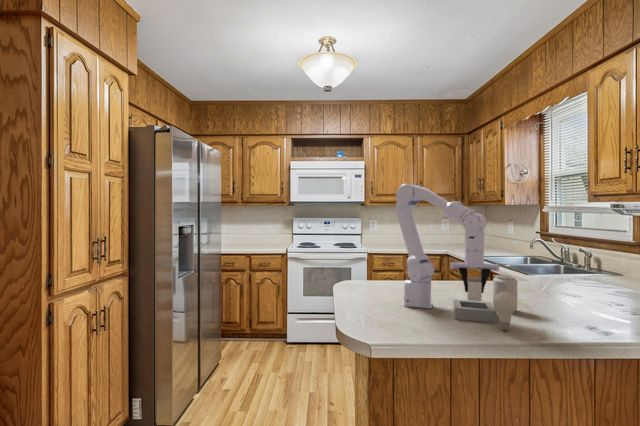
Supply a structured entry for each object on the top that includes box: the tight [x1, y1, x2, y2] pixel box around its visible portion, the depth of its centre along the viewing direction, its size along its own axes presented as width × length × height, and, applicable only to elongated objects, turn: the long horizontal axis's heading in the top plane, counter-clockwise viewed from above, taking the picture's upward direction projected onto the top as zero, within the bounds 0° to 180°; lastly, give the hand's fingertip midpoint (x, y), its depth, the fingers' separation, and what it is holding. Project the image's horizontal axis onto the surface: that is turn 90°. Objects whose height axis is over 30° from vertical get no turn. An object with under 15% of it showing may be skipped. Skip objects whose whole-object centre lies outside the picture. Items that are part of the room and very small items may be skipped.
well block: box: [452, 298, 498, 324], centre depth 119 cm, size 12×12×4 cm
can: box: [492, 274, 518, 313], centre depth 126 cm, size 8×8×12 cm
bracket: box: [466, 276, 483, 302], centre depth 119 cm, size 4×5×7 cm
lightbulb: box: [492, 292, 518, 332], centre depth 105 cm, size 6×6×11 cm
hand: (473, 291), depth 119 cm, fingers closed on bracket, 4 cm apart
